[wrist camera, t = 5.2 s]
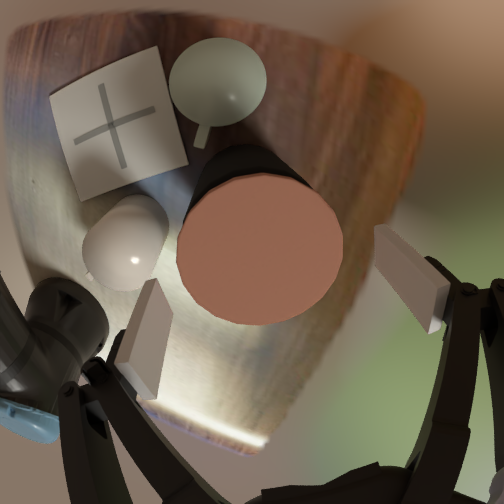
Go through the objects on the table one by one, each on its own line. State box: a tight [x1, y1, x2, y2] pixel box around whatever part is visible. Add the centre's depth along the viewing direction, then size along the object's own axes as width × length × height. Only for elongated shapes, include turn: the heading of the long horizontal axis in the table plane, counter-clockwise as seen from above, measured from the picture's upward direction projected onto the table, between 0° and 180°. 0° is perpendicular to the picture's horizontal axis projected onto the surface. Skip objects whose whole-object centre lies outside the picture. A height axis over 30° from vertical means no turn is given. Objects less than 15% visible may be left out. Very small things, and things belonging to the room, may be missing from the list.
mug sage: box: [169, 38, 266, 149], centre depth 25 cm, size 10×8×9 cm
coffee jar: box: [176, 144, 343, 325], centre depth 26 cm, size 11×11×18 cm
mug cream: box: [82, 194, 169, 292], centre depth 31 cm, size 10×8×9 cm
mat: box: [49, 46, 189, 202], centre depth 28 cm, size 15×15×1 cm
